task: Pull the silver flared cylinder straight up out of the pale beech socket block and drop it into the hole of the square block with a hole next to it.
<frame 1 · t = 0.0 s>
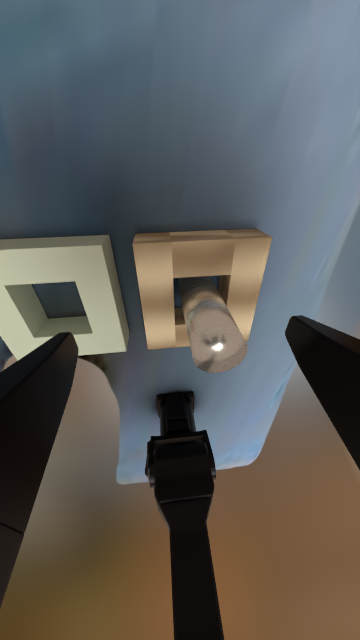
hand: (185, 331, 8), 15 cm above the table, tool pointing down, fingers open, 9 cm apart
socket block: (195, 286, 24), on the table
silver flared cylinder: (204, 312, 19), in the socket block
square block with hole: (65, 294, 23), on the table
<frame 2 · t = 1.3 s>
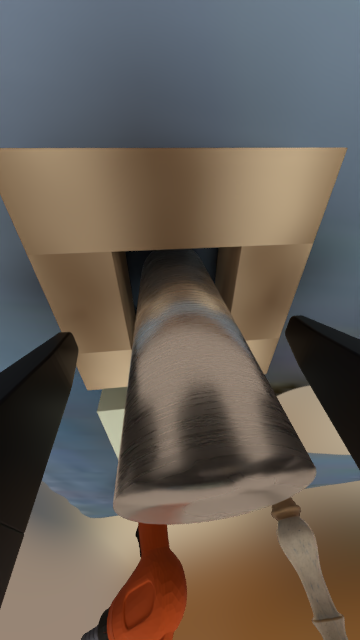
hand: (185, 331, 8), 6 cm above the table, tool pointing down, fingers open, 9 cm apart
socket block: (173, 276, 13), on the table
silver flared cylinder: (183, 329, 9), in the socket block
candle holder: (270, 473, 38), on the table
square block with hole: (177, 405, 21), on the table
toy drill: (134, 476, 32), on the table
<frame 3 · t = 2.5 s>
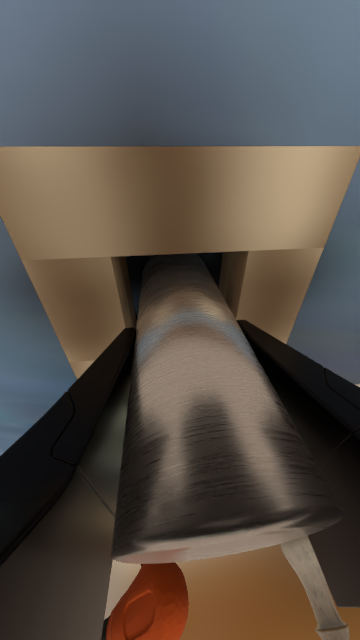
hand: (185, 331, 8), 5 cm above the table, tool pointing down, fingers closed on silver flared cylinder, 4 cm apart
socket block: (175, 280, 13), on the table
silver flared cylinder: (187, 339, 8), in the socket block, touching gripper
candle holder: (273, 477, 37), on the table
toy drill: (134, 481, 31), on the table
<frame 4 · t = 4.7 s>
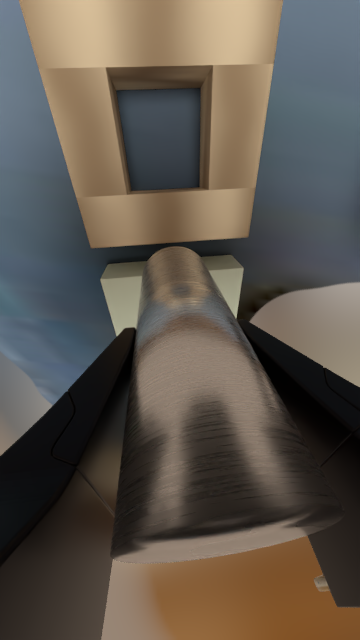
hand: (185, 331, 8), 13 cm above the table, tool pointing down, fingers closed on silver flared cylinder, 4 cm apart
socket block: (162, 144, 15), on the table
silver flared cylinder: (187, 338, 8), point 14 cm above the table, touching gripper
square block with hole: (174, 310, 23), on the table
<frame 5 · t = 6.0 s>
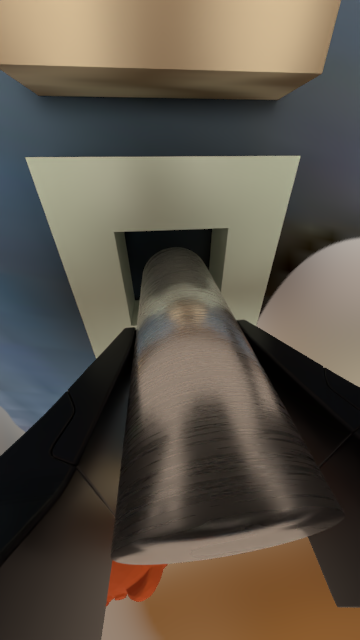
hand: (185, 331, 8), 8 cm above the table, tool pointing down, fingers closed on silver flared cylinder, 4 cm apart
silver flared cylinder: (187, 339, 8), point 9 cm above the table, touching gripper
square block with hole: (170, 262, 15), on the table
toy drill: (119, 408, 26), on the table
when the fingers open (6 cm above the table, at t = 7.1 s): silver flared cylinder drops 1 cm, resting in square block with hole.
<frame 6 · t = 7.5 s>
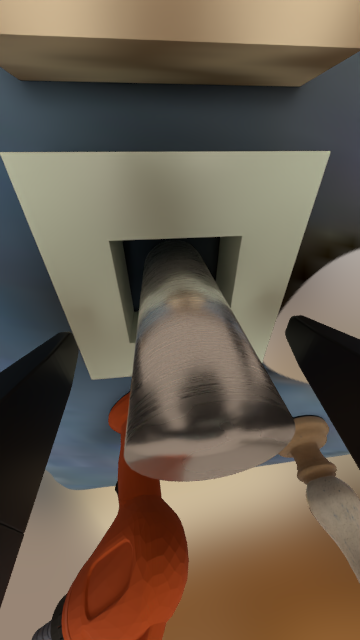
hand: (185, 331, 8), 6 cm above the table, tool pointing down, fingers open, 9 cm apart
silver flared cylinder: (183, 317, 9), in the square block with hole
candle holder: (293, 429, 30), on the table
square block with hole: (173, 271, 14), on the table
toy drill: (118, 422, 24), on the table
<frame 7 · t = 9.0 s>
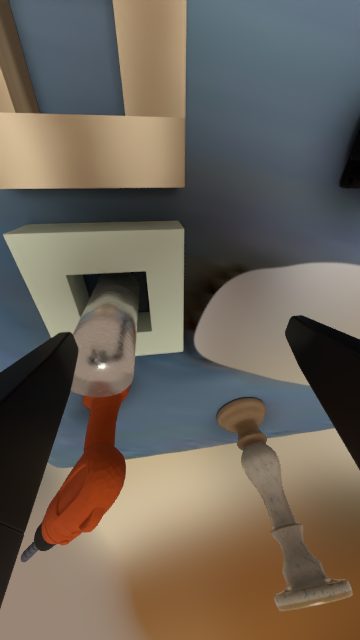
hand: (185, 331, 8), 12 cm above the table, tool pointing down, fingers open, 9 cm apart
socket block: (75, 63, 12), on the table
silver flared cylinder: (111, 319, 16), in the square block with hole
candle holder: (239, 410, 37), on the table
square block with hole: (118, 288, 20), on the table
toy drill: (92, 403, 30), on the table
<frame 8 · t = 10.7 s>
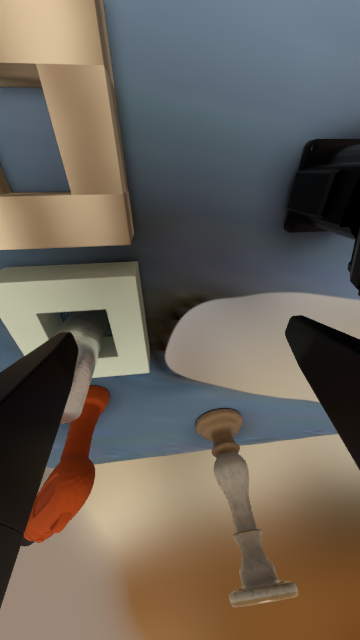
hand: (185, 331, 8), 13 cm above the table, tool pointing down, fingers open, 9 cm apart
socket block: (34, 145, 14), on the table
silver flared cylinder: (75, 351, 18), in the square block with hole
candle holder: (217, 419, 39), on the table
square block with hole: (90, 316, 23), on the table
toy drill: (76, 412, 33), on the table
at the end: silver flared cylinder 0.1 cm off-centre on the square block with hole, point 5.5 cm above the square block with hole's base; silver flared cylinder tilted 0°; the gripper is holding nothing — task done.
